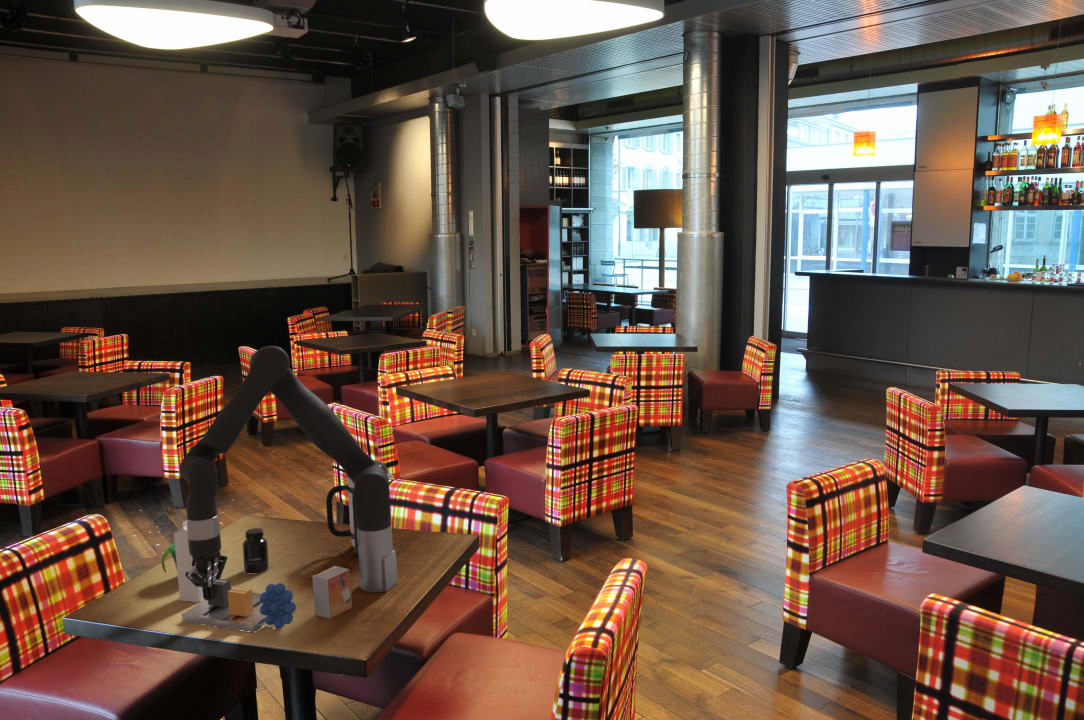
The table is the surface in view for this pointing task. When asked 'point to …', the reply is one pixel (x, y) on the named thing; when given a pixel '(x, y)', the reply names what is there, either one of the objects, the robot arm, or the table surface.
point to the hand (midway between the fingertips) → (209, 599)
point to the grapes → (277, 605)
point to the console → (226, 616)
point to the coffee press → (352, 512)
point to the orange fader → (240, 601)
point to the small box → (332, 592)
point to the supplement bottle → (255, 551)
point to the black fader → (221, 593)
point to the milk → (185, 567)
